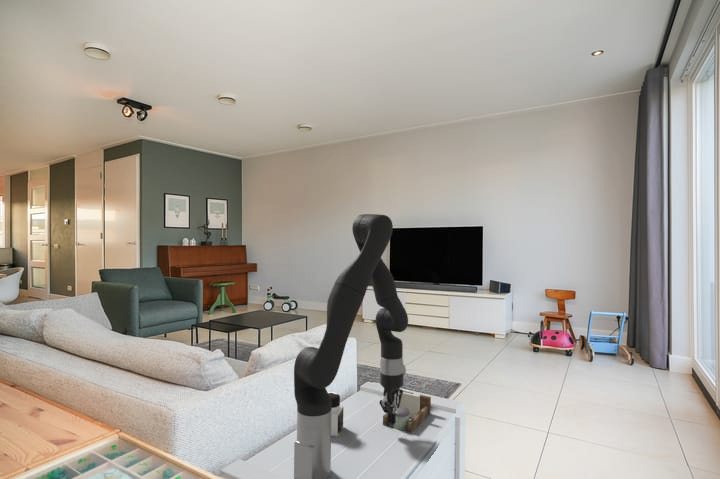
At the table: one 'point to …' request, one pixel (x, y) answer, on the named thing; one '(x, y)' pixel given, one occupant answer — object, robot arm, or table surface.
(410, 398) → the pusher plate
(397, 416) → the jar
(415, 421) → the lane
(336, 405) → the medicine bottle
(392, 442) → the table surface
